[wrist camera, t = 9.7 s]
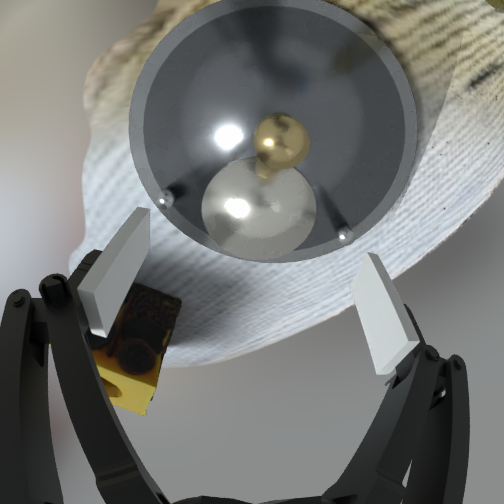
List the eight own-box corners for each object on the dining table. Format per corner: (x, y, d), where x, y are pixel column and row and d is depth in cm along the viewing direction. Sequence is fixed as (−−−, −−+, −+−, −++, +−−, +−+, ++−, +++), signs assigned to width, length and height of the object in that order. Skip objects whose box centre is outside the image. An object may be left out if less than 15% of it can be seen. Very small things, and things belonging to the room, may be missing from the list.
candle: (183, 298, 26) (160, 387, 18) (165, 348, 31) (148, 418, 23) (92, 262, 24) (45, 338, 16) (93, 319, 29) (63, 384, 21)
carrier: (163, -14, 10) (141, -32, 7) (435, 60, 12) (467, 61, 9) (132, 229, 21) (113, 256, 18) (354, 271, 24) (367, 302, 20)
